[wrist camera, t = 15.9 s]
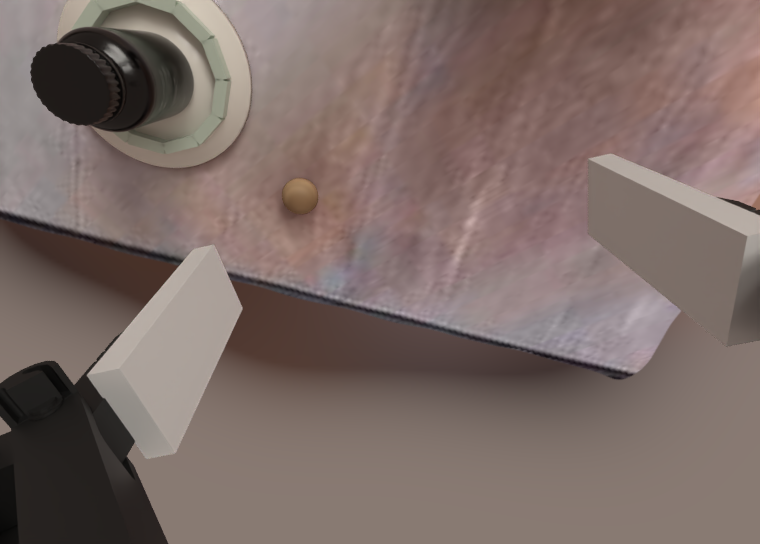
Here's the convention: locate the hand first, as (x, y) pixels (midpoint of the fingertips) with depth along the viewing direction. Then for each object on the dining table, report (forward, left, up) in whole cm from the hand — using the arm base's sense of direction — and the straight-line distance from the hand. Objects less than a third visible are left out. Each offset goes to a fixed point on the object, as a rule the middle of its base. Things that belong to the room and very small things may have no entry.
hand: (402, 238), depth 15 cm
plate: (-8, -18, -29) cm, 35 cm away
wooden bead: (+5, -9, -29) cm, 30 cm away
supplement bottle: (-8, -18, -28) cm, 34 cm away
